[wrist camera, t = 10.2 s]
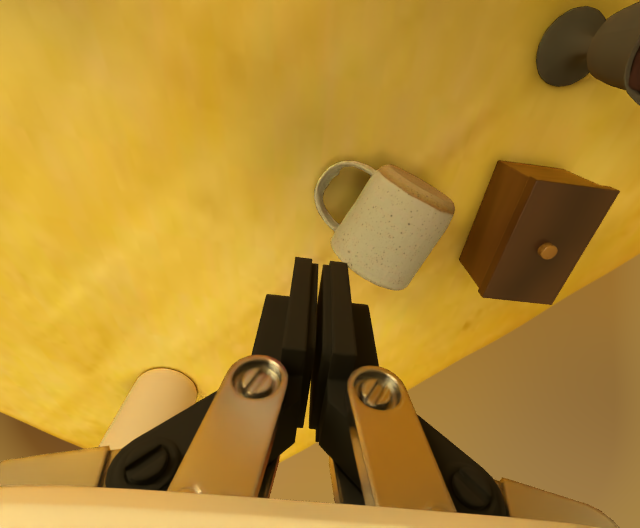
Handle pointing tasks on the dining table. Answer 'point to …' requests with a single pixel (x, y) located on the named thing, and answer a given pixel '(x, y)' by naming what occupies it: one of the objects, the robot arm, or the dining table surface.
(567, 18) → the sundae
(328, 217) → the ceramic mug
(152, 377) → the milk bottle
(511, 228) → the tea box
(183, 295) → the dining table surface
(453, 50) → the dining table surface
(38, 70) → the dining table surface
